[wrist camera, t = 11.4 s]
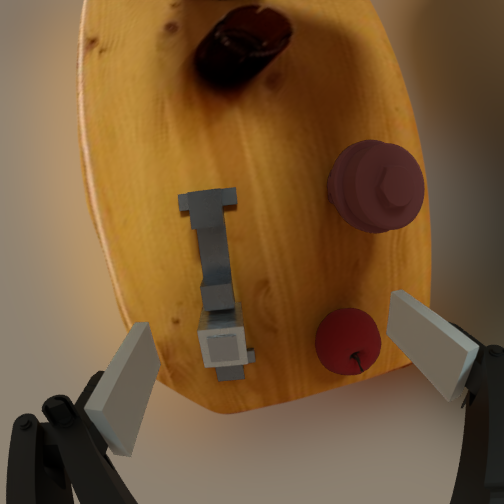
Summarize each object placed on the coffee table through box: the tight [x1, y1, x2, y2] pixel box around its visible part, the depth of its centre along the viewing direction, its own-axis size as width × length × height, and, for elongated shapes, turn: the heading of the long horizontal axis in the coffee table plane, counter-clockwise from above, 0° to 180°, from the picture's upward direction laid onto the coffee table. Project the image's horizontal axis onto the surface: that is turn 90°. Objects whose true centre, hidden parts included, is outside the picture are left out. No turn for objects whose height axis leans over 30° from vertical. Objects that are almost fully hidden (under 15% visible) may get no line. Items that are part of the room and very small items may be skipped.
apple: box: [315, 308, 381, 375], centre depth 33 cm, size 9×9×10 cm
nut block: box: [197, 302, 248, 368], centre depth 33 cm, size 5×5×7 cm
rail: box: [178, 187, 255, 381], centre depth 33 cm, size 24×7×4 cm, turn 6°
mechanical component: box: [327, 140, 424, 233], centre depth 28 cm, size 12×10×10 cm
